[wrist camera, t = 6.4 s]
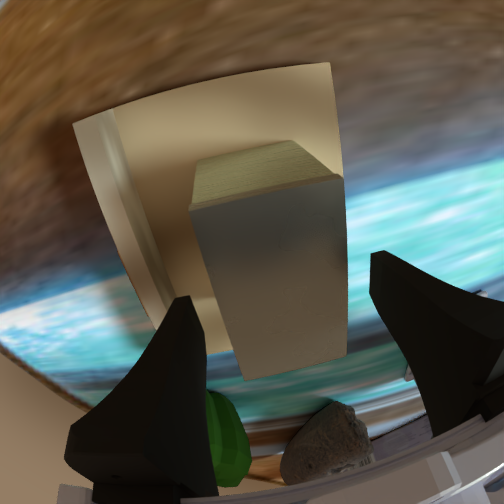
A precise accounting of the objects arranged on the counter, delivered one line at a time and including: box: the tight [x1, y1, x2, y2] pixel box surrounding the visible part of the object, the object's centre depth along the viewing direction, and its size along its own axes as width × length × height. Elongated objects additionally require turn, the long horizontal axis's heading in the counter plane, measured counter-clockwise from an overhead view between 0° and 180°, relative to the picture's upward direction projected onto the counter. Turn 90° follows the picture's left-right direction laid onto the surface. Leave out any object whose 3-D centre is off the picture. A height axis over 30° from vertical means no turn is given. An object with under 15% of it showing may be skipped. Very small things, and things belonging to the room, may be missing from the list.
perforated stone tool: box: [280, 401, 374, 486], centre depth 28 cm, size 15×5×7 cm, turn 155°
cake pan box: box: [343, 415, 433, 472], centre depth 30 cm, size 19×5×18 cm, turn 114°
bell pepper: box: [206, 390, 252, 487], centre depth 21 cm, size 8×8×10 cm
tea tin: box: [188, 140, 348, 381], centre depth 14 cm, size 8×5×6 cm, turn 11°
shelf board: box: [73, 62, 343, 355], centre depth 16 cm, size 16×11×4 cm
